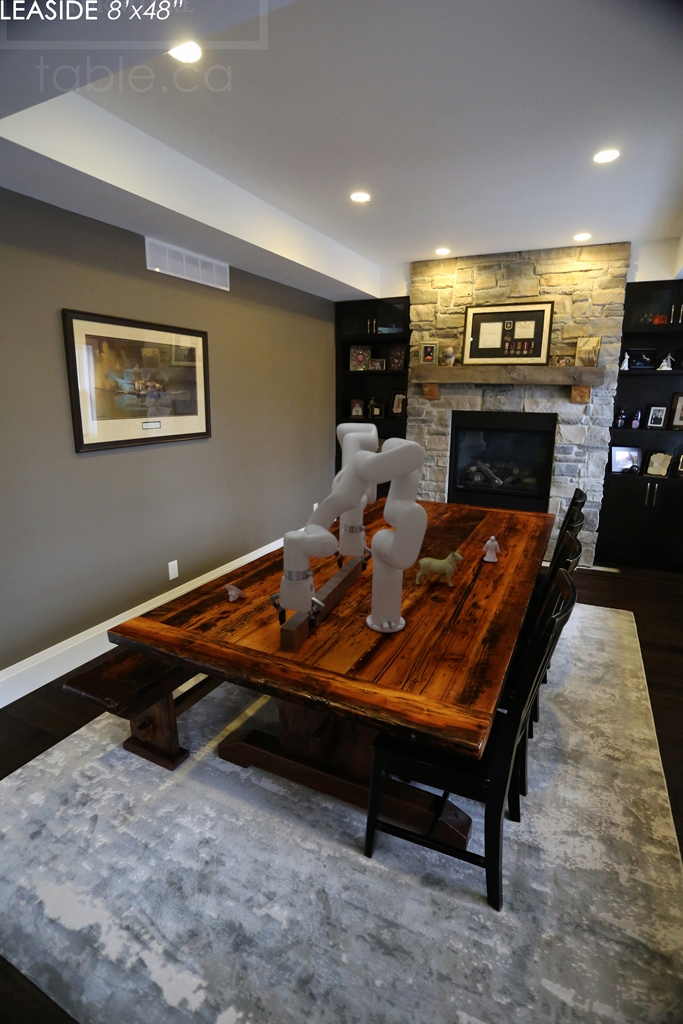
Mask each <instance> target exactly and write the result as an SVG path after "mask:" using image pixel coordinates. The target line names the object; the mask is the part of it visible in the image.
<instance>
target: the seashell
mask: <svg viewBox="0 0 683 1024" xmlns="http://www.w3.org/2000/svg"><path fill="white" fill-rule="evenodd" d="M224 587H225V589H226V591H227V592H228V596H229V597H228V601H229V602H234V601H236V600H237V599H239V598H244V599H245V598H247V595H246V593H245V592H244V591H243V590H241V589H240V588H239V587H237V586H235V585H231V584H226V585H224Z"/></svg>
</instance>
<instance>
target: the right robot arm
mask: <svg viewBox="0 0 683 1024" xmlns="http://www.w3.org/2000/svg"><path fill="white" fill-rule="evenodd" d="M425 452H426V451H425V449H424V447H423V446H422V444H420V443H418V442H416V441H413V440H408V439H404V438H399V437H391V438H388V439H386V440H385V441H384V442H383V444H382V445H381V452H375V453H374V452H370V451H359V452H357V453H356V454H354V456H353V457H352V459H351V460H350V462H349V464H348V466H347V467H346V469H345V471H344V473H343V475H342V476H341V478H340V480H339V482H338V483H337V485H336V487H335V489H334V490H333V492H332V491H331V493H330V494H329V495H328V496H326V498H325V499H324V500H322V501H321V503H320V504H318V506H317V507H316V508H315V509H314V511H313V512H312V513H311V515H310V517H309V519H308V521H307V523H306V525H305V526H304V528H303V530H291V531H287V532H286V533H284V535H283V539H282V540H283V541H282V542H283V543H282V544H283V545H282V546H283V575H282V577H281V581H280V586H279V593H276V594H273V595H271V596H270V597H269V599H270V601H271V603H272V606H273V608H274V609H275V610H276V613H277V615H278V618H277V619H278V620H277V621H278V622H279V626H280V627H282V626H283V625H284V624H285V623H286V622H287V611H286V610H290V611H295V612H297V611H301V612H307V614H308V615H309V616H310V618H309V631H312V630H313V629H314V628H315V627H316V616H318V615H319V614H320V613H321V612H322V610H323V608H324V607H325V605H324V604H323V603H322V602H320V601H319V600H317V599H316V598H315V593H316V591H315V583H314V579H313V577H314V575H315V572H314V571H312V570H311V565H310V562H311V561H310V559H311V558H328V557H331V556H333V555H334V553H335V552H336V551H337V549H338V544H339V542H338V539H337V537H336V536H335V535H334V534H333V533H331V532H330V531H329V530H330V528H331V527H332V525H333V523H334V522H335V521H336V520H337V519H338V517H340V515H341V514H342V513H344V512H347V511H350V510H352V509H355V508H356V507H357V506H358V505H359V503H360V501H361V499H362V498H363V496H364V494H365V492H366V490H367V489H368V487H369V485H370V483H373V484H377V485H379V484H383V483H387V482H390V486H389V490H388V495H387V497H386V501H385V505H384V509H383V519H384V521H385V522H386V523H387V524H388V525H390V526H391V527H393V528H394V529H395V530H393V529H390V528H382V529H379V530H378V531H376V533H375V534H374V535H373V537H372V539H371V542H370V543H371V544H370V550H371V552H372V557H371V558H372V560H371V561H372V585H371V586H372V587H371V607H370V609H371V613H370V615H368V616H367V617H366V621H365V622H366V623H365V624H366V625H367V627H368V628H369V629H372V630H373V631H376V632H379V633H396V632H398V631H402V630H403V629H404V628H405V626H406V620H405V618H403V617H402V615H401V614H402V599H403V598H402V597H403V580H404V570H408V569H410V568H411V567H413V566H414V564H416V562H417V560H418V558H419V555H420V551H421V548H422V545H423V542H424V538H425V534H426V530H427V527H428V514H427V511H426V509H425V508H424V507H423V505H421V504H420V503H417V502H416V500H417V495H418V492H419V487H420V471H419V469H420V468H421V467H422V465H423V464H424V462H425V459H426V453H425ZM337 552H338V551H337ZM278 599H279V601H278ZM315 605H316V606H317V607H318V610H317V611H316V610H315V609H314V606H315ZM316 628H317V627H316ZM316 628H315V629H316ZM315 629H314V630H315ZM314 630H313V631H314ZM313 631H312V632H313Z"/></svg>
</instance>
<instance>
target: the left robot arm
mask: <svg viewBox="0 0 683 1024" xmlns="http://www.w3.org/2000/svg"><path fill="white" fill-rule="evenodd" d="M336 436H337V437H336V438H337V440H338V442H339V445H340V448H341V469H340V470H339V471H338V472H337V474H336V475H335V476H334V478H333V480H332V484H331V493H332V492H333V490H334V489H335V487H336V485H337V483H338V482H339V480H340V478H341V476H342V475H343V473H344V471H345V469H346V467H347V466H348V464H349V462H350V460H351V459H352V457H353V456H354V454H356V453H357V452H359V451H370V452H374V453H377V451H378V449H379V436H378V429H377V426H376V425H375V424H374V423H359V422H358V423H356V422H344V423H340V424H338V425H337V426H336ZM377 487H378V484H373V483H370V485H369V487H368V489H367V490H366V492H365V494H364V496H363V498H362V499H361V501H360V503H359V505H358V506H357V507H356V508H355V509H352V510H350V511H347V512H344V513H342V514H341V515H339V542H338V549H337V551H336V552H335V553H334V554H333V555H334V557H335V558H336V560H337V561H336V562H337V564H336V565H337V569H338V570H340V569H341V568H342V567H343V566H344V565H343V564H344V560H343V559H344V557H343V556H345V557H351V558H352V557H355V558H361V560H362V561H363V562H362V569H361V572H362V573H364V572H365V571H367V568H368V567H367V566H368V562H369V560H371V558H372V552H371V548H369V547H367V539H366V532H365V531H366V530H367V526H364V510H365V509H366V507H367V506H368V505H374V504H375V503H376V500H377V490H378V488H377ZM366 554H368V555H366Z"/></svg>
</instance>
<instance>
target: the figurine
mask: <svg viewBox="0 0 683 1024" xmlns="http://www.w3.org/2000/svg"><path fill="white" fill-rule="evenodd" d="M482 551H483V552H486V554H485V556H484V557H483V560H484V561H485V562H495V563H498V558H497V554H496V553H498V554H499V553H501V550H500V547H499V543H498V541H497V540H496V538H495V536H493V535H492V536H490V539H489V540H487V542H486V543H485V544H484V546H483V548H482Z"/></svg>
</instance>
